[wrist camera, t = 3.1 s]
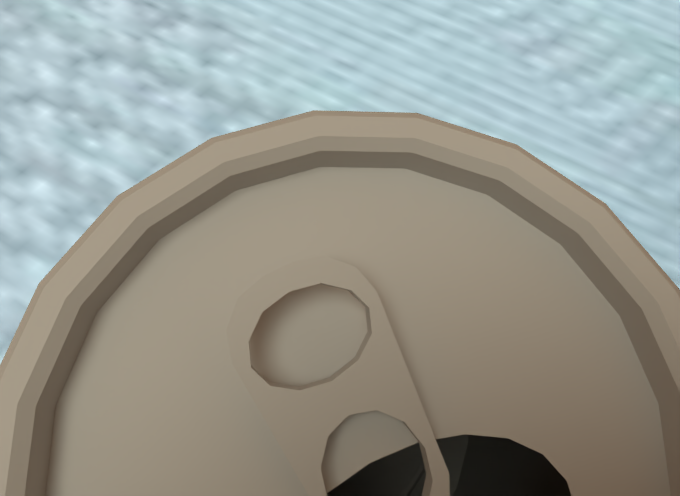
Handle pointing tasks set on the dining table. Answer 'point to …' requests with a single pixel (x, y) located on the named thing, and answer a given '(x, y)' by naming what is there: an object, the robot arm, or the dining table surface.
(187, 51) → the dining table surface
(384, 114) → the can
